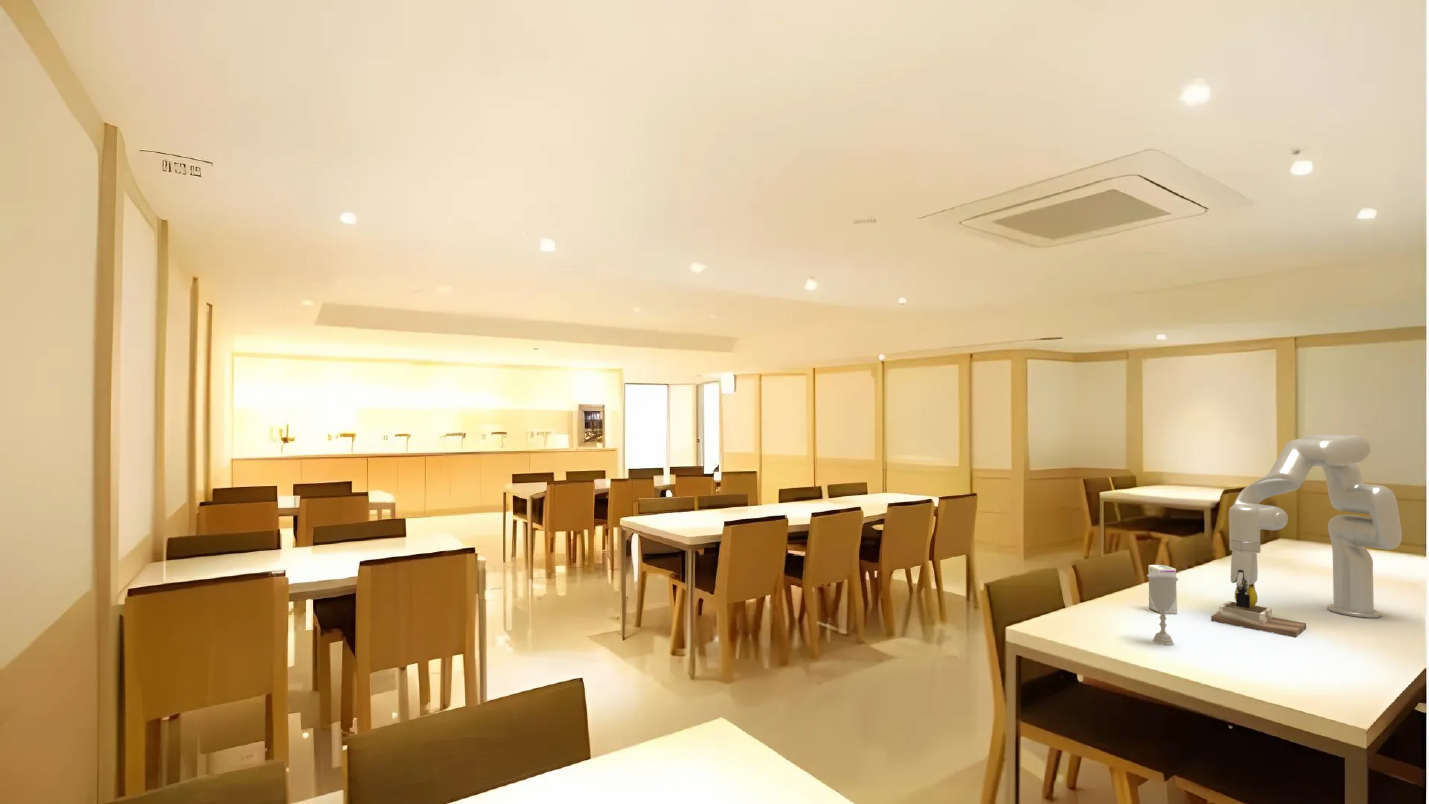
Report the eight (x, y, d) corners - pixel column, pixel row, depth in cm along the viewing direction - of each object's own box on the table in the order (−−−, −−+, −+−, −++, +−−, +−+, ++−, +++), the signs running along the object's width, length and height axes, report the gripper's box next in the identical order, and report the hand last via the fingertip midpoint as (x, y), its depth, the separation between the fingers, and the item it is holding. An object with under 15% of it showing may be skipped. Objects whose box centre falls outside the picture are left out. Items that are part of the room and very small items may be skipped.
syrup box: (1178, 614, 214) (1177, 568, 215) (1159, 613, 214) (1158, 568, 215) (1166, 609, 220) (1165, 564, 220) (1148, 609, 220) (1147, 564, 220)
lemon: (1261, 612, 203) (1261, 585, 203) (1241, 611, 204) (1240, 584, 204) (1251, 607, 208) (1250, 581, 208) (1230, 606, 209) (1230, 580, 210)
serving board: (1224, 613, 216) (1224, 599, 216) (1306, 628, 200) (1305, 613, 200) (1211, 620, 207) (1211, 606, 207) (1295, 637, 191) (1295, 621, 192)
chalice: (1151, 644, 184) (1150, 578, 184) (1144, 637, 190) (1144, 573, 191) (1182, 647, 181) (1181, 580, 182) (1175, 640, 188) (1174, 575, 188)
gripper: (1237, 541, 215) (1238, 598, 214) (1221, 547, 204) (1222, 607, 204) (1267, 544, 209) (1268, 603, 209) (1252, 551, 198) (1253, 613, 198)
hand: (1245, 604), depth 206 cm, fingers closed on lemon, 5 cm apart
